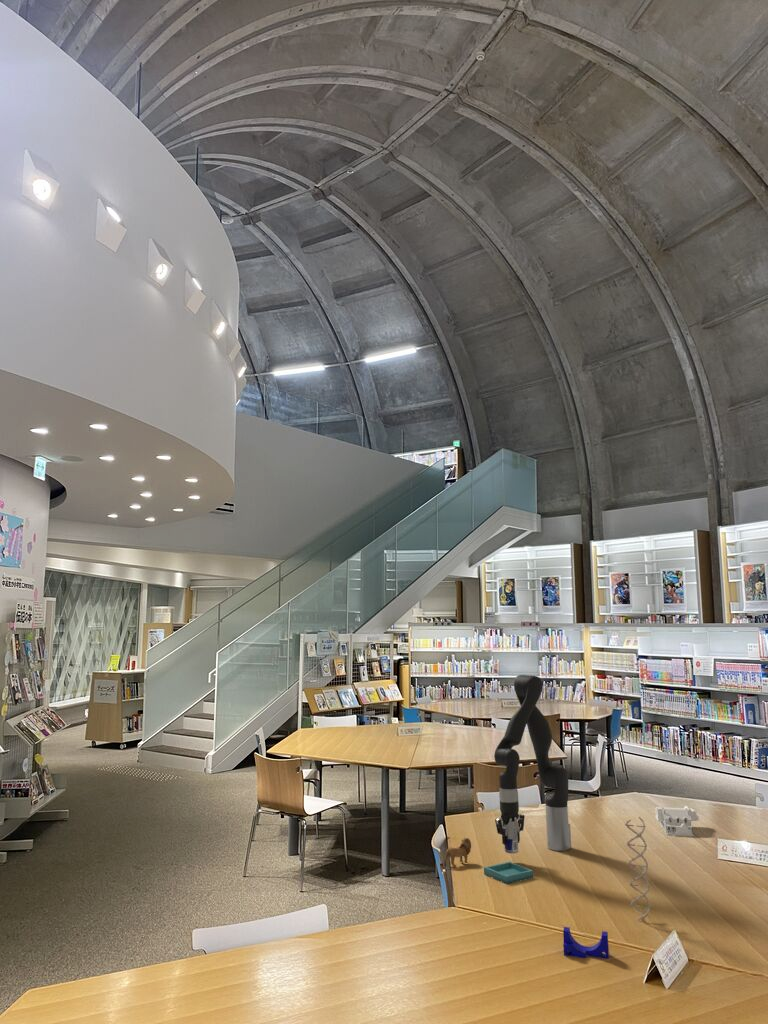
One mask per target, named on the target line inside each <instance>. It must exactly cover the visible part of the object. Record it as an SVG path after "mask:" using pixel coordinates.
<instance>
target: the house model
mask: <svg viewBox="0 0 768 1024" xmlns="http://www.w3.org/2000/svg"><path fill="white" fill-rule="evenodd" d="M654 809H655V811H654V812H655V813H654V815H655V819H656V820H657V821H658V822H659V824H660V826H661V828H662V830H663V831H664V832H665V834H666V835H667V836H674V837H675V836H678V837H679V836H680V837H695V834H694V833H693V829H692V828H693V826H692V822H696V821H698V822H699V819H700V818H699V816H698V813H697V811H696V810H695V809H694V808H691V807H689V806H687V805H685V806H684V807H670V806H656V807H655V808H654Z"/></svg>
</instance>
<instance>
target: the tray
mask: <svg viewBox="0 0 768 1024" xmlns="http://www.w3.org/2000/svg"><path fill="white" fill-rule="evenodd" d="M483 874H486V875H485V876H487V875H488V876H487V877H489V876H490V878H491V877H493V878H492V879H494V878H495V879H494V880H496V879H497V881H498V880H499V881H498V882H501V881H502V882H501V883H503V882H504V883H503V884H505V885H508V883H509V884H513V883H512V882H514V883H517V882H516V881H518V882H521V881H520V880H522V881H526V880H529V878H530V879H533V877H534V870H533V869H530V868H528V867H525V866H523V865H519V864H517V863H515V862H512V861H506V862H502V863H498V864H492V865H488V866H484V867H483ZM525 879H526V880H525Z"/></svg>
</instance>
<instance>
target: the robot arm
mask: <svg viewBox="0 0 768 1024" xmlns="http://www.w3.org/2000/svg"><path fill="white" fill-rule="evenodd" d="M513 688H514V691H515V692H514V693H515V695H516V697H517V700H518V703H519V705H520V707H519V708H518V710H517V711H516V712H515V713H514V714H513V715H512V717H511V718H510V719H509V721H508V724H507V727H506V730H505V733H504V735H503V737H502V739H501V740H500V741H499V743H498V745H497V746H496V748H495V751H494V761H495V763H496V764H497V765H499V766H502V767H505V771H502V772H500V773H499V777H498V779H499V781H498V782H499V796H498V797H499V811H500V814H501V815H500V817H499V818H495V819H494V821H495V822H494V823H495V827H496V831H497V834H498V835H501V841H502V842H501V843H502V845H504V847H505V846H507V845H508V836H507V833H508V830H509V823H510V822H512V821H516V822H517V834H518V844H519V843H520V840H521V838H520V833H521V831H522V832H523V831H524V826H525V818H526V817H525V814H523V813H522V814H521V813H519V812H520V808H519V807H520V805H519V792H518V782H517V777H518V773H519V767H520V759H521V758H520V754H519V752H518V751H517V750H516V749H514V748H513V747H517V746H519V745H520V744H521V742H522V739H523V736H524V732H525V730H526V726H527V730H528V733H529V737H530V740H531V743H532V747H533V750H534V754H535V759H536V763H537V769H538V775H539V778H540V782H541V784H542V785H543V786H544V787H545V788H548V789H554V791H553V793H554V794H553V795H551V796H547V797H545V800H544V802H545V803H544V804H545V822H546V825H545V826H546V840H547V842H546V843H547V849H549V850H552V851H555V852H556V851H557V852H564V851H565V852H566V851H569V850H570V849H572V835H571V824H570V823H569V811H568V806H569V805H568V801H569V774H568V771H567V769H566V768H565V767H562V766H556V765H552V764H551V761H550V758H549V757H550V756H549V751H550V748H551V746H552V743H553V741H552V740H553V735H552V731H551V727H550V724H549V721H548V719H547V718H546V717H545V716H544V714H543V713H542V712H541V711H540V709H539V708H538V707H537V703H538V701H539V699H540V697H541V695H542V692H543V688H544V687H543V681H542V679H541V678H540V677H539V676H537V675H527V674H519V675H517V676H516V677H515V679H514V681H513ZM504 824H505V825H507V827H504ZM504 829H505V832H504Z"/></svg>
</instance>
